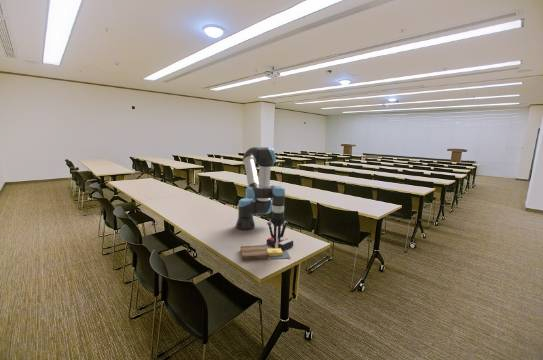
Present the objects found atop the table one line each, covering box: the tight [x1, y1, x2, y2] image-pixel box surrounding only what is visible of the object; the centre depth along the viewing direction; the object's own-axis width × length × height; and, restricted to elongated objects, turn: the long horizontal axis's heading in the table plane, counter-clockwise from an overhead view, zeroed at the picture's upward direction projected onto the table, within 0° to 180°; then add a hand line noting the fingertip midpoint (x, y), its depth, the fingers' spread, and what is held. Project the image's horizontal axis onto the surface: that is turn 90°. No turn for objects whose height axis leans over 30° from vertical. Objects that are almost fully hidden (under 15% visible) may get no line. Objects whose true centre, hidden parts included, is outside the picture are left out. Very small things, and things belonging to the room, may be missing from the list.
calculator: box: [266, 234, 294, 250], centre depth 174 cm, size 11×4×15 cm
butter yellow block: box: [267, 247, 283, 256], centre depth 161 cm, size 6×9×2 cm, turn 100°
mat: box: [269, 247, 291, 261], centre depth 161 cm, size 14×13×1 cm
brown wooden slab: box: [240, 244, 270, 262], centre depth 158 cm, size 14×16×3 cm
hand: (276, 247), depth 161 cm, fingers closed
